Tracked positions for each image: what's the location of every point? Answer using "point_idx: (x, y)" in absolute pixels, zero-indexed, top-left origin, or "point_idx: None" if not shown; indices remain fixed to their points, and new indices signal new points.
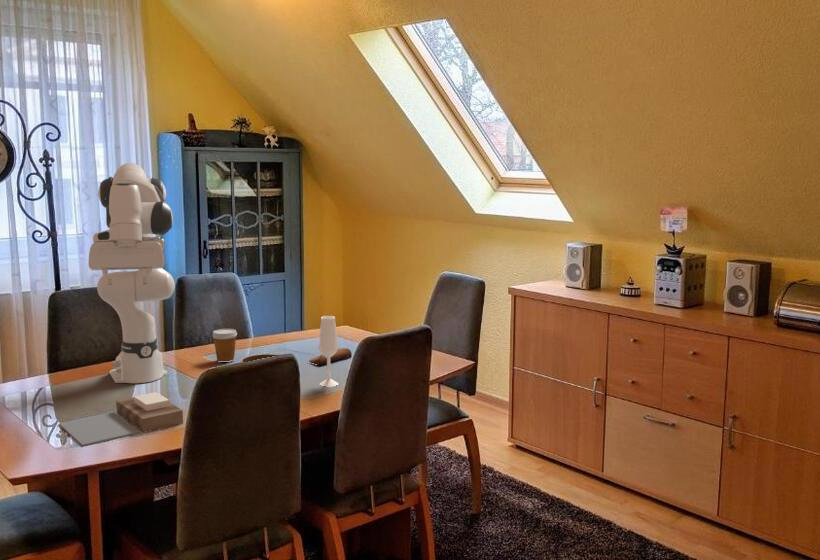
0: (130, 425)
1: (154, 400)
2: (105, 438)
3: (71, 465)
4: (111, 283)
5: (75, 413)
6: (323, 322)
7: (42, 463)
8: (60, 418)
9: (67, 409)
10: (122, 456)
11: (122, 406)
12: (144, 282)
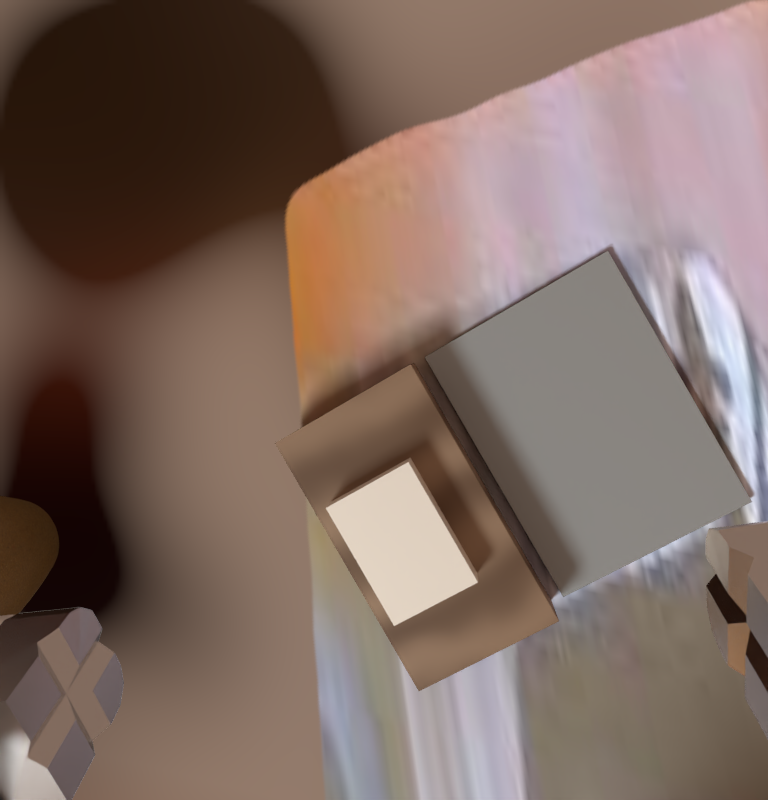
0: (470, 427)
1: (384, 512)
2: (536, 301)
3: (605, 73)
4: (736, 528)
5: None
6: None
7: (712, 104)
8: None
9: None
10: (447, 135)
11: (521, 554)
12: (42, 611)
